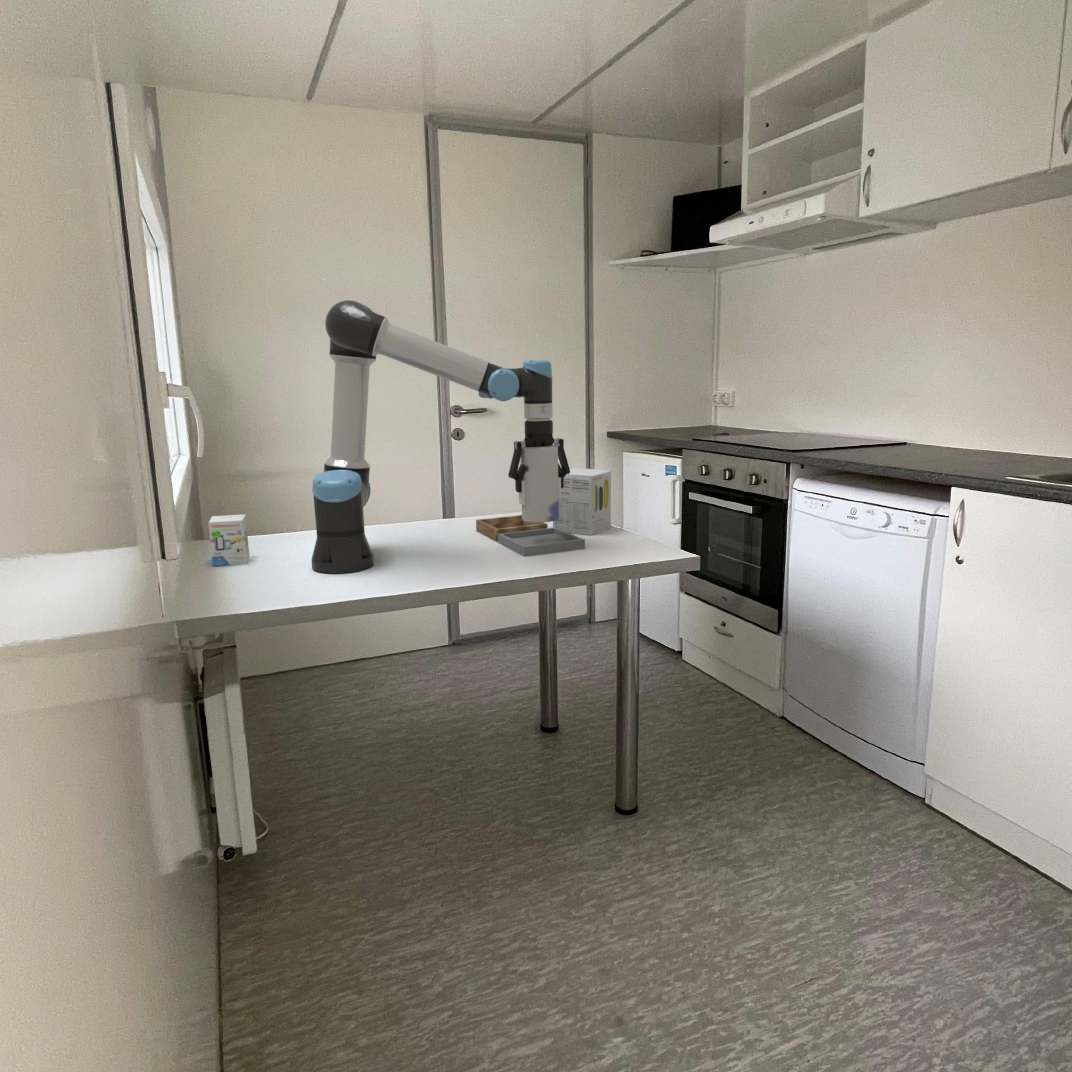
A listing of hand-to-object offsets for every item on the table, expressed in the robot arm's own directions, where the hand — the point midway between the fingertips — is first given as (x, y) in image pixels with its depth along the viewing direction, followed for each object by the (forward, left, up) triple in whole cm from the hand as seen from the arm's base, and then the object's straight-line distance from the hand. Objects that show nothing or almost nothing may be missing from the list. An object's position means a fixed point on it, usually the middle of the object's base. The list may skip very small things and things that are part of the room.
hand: (540, 502), depth 211 cm
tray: (0, 0, -12) cm, 12 cm away
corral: (-1, +18, -12) cm, 22 cm away
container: (0, 0, -5) cm, 5 cm away
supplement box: (+20, +13, -12) cm, 27 cm away
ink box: (-78, +23, -12) cm, 82 cm away
